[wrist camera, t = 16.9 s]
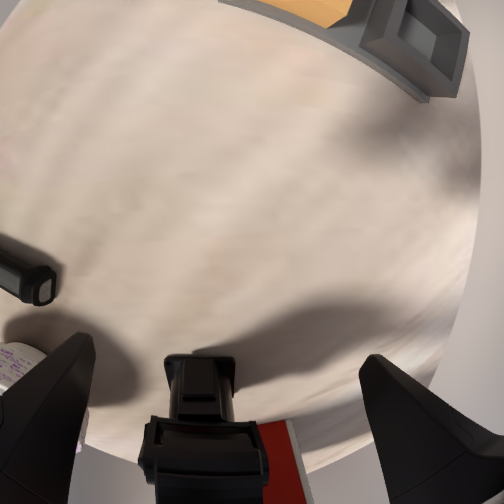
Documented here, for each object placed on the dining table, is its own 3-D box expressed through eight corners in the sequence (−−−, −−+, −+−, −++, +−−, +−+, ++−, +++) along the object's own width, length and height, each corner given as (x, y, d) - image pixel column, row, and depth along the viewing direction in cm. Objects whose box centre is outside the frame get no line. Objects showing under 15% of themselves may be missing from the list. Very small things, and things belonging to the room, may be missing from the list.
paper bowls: (119, 406, 27) (110, 462, 20) (41, 406, 27) (28, 448, 20) (41, 311, 20) (6, 373, 13) (-25, 328, 20) (-52, 371, 13)
